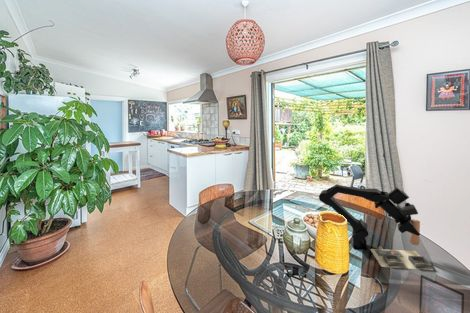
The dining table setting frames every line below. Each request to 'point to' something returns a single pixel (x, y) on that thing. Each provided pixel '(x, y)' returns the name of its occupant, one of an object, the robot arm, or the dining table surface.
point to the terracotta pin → (414, 238)
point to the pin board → (401, 259)
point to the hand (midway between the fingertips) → (418, 233)
